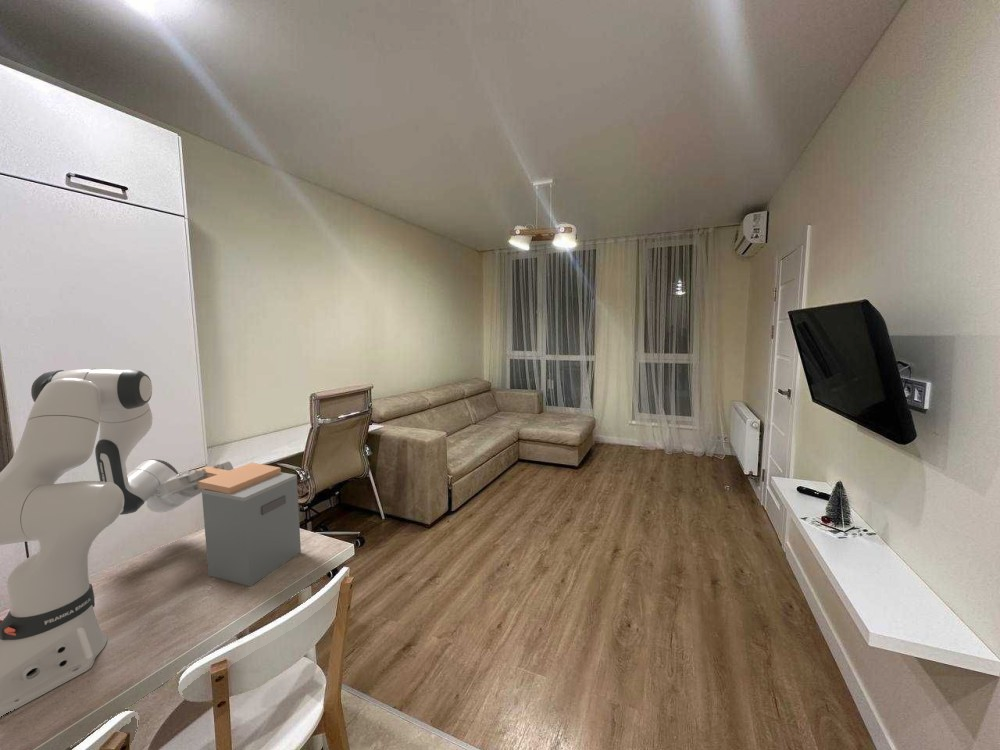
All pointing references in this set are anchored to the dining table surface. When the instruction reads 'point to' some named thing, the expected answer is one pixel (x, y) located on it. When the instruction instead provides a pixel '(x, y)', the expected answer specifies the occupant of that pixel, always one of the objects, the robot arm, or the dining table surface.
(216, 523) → the crate
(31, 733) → the dining table surface
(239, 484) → the lid
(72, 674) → the robot arm
